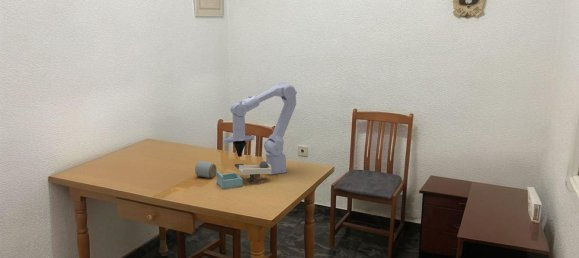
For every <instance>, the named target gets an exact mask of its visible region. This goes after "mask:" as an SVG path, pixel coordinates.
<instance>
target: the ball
mask: <svg viewBox="0 0 579 258" xmlns="http://www.w3.org/2000/svg"><path fill="white" fill-rule="evenodd" d="M258 165H259V166H260V168H268V164H267V162H266V160H265V161H264V160H263V161H260V163H259V164H258Z"/></svg>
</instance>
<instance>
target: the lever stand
mask: <svg viewBox="0 0 579 258" xmlns="http://www.w3.org/2000/svg"><path fill="white" fill-rule="evenodd" d="M245 180H246V181H247V182H248V183H249V184H250V185H259V184H265V180H263V179H262V178H261V174H249V176H248V177H246V178H245Z"/></svg>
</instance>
